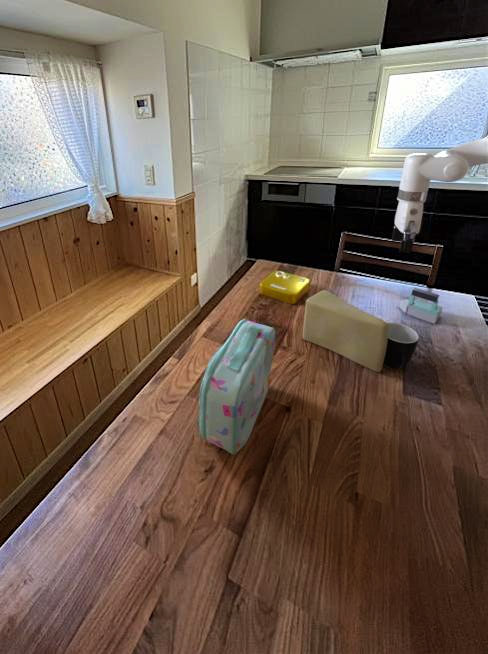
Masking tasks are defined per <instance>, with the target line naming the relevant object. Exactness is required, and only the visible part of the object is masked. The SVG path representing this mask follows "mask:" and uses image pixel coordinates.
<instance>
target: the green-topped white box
mask: <svg viewBox="0 0 488 654" xmlns="http://www.w3.org/2000/svg"><path fill="white" fill-rule="evenodd" d="M416 297H417V298H420V299H416ZM439 297H440V294H436V293H434V292H431V291H427V290H424V289H421V288H417V287H414V288H412V291H411V293H410V294H409V299H400V302H399V308H400V310H401V311H402V312H403V313H404V314H407V315H409V316H411V317H414V318H416V319H417V318H418V319H420V320H422V321H426V322H427V323H428V322H429V323H430V324H431V323H432V324H436V323H437V321H438V320H439V318H440V317H441V314H442V311H443V306H441V305H438V304H439ZM425 300H426V301H425Z"/></svg>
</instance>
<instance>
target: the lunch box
mask: <svg viewBox="0 0 488 654" xmlns="http://www.w3.org/2000/svg"><path fill="white" fill-rule="evenodd" d="M275 344H276V329H275V328H274V327H271V326H268V325H266V324H261V323H257V322H254V321H252V320H248V319H246V318H243V319H241V320H240V321H239V322H238V323H237V324H236V326H235V327H234V329H233V330H232V332H231V333H230V335H229V337H228V338H227V339H226V341H225V342H224V343H223V345H222V346H221V347H220V348H219V349H218V350H217V351H216V352H215V353H214V355H213V356H212V357H211V359H210V360H209V362H208V364H207V366H206V369H205V372H204V375H203V378H202V381H201V383H200V388H199V416H198V417H199V418H198V430H199V434H200V437H201V438H202V439H203V440H204V441H206V442H209V443H210V444H213V445H214V446H216V447H218V448H221V449H222V450H225V451H226V452H228V453H229V454H231V455H237V454H238V453H239V452H240V451H241V449H242V448H243V447H244V446H245V445H246V444H247V442H248V440H249V438H250V436H251V434H252V431H253V429H254V427H255V424H256V421H257V419H258V416H259V414H260V412H261V409H262V407H263V404H264V402H265V399H266V397H267V394H268V389H269V385H270V382H271V381H270V380H271V373H272V364H273V359H274V351H275Z"/></svg>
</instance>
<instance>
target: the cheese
mask: <svg viewBox="0 0 488 654" xmlns="http://www.w3.org/2000/svg"><path fill="white" fill-rule="evenodd" d="M304 307H305V308H304V318H303V329H302V340H304V341H306V342H309V343H312V344H314V345H317V346H318V347H321V348H324V349H326V350H329V351H331V352H334V353H336V354H338V355H340V356H342V357H344V358H346V359H347V360H350V361H351V362H354V363H356V364H358V365H360V366H362V367H364V368H366V369H368V370H371V371H373V372H375V373H380V372H381V371H382V370H383V366H384V365H383V362H384V358H385V353H386V348H387V340H388V328H389V327H388V324H387V323H388V322H387V321H385V320H383V319H381V318H380V317H377V316H375V315H372V314H370V313H369V312H367V311H365V310H363V309H360V308H358V307H356V306H354V305H352V304H350V303H349V302H346V301H345V300H344V299H342V298H340V297H338V296H337V295H335V294H333V293H332V292H330V291H328V290H326V289H324V290H323V289H322V290H321V291H318V292H317V293H315V294H314V295H311V296H310V297H308V298H307V299H306V300H305V306H304Z"/></svg>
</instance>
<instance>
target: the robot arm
mask: <svg viewBox="0 0 488 654" xmlns="http://www.w3.org/2000/svg"><path fill="white" fill-rule="evenodd" d="M485 164H488V136H486V137H483V138H482V137H481V138H478V139H475V140H471V141H468V142H466V143H461V144H460V145H456V146H454V147H451V148H448V149H445V150H443V151H441V152H439V153H437V154H436V155H433V154H430V153H410V154H408V155H407V156H406V157H405V158H404V163H403V167H402V172H401V177H400V181H399V187H398V192H397V196H396V197H397V198H396V200H397V201H398V204H397V206H396V207H397V208H396V211H395V215H394V226H393V232H392V236H391V241H392V242H400V247H399V252H400V253H409V254H411V253H412V251H413V247H414V242H415V239H416V235H418V234H419V233H420V230H421V225H422V218H423V214H424V213H423V212H424V203H425V202H426V200H427V196H428V192H429V187H430V184H431V181H437V182H442V183H443V182H444V183H454V182H457V181H460V180H462V179H463V178H464V177H466V175H467V174H468V172H469V169H470V168H473V167H476V166H480V165H485Z"/></svg>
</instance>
